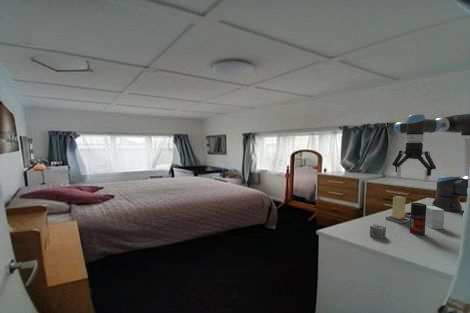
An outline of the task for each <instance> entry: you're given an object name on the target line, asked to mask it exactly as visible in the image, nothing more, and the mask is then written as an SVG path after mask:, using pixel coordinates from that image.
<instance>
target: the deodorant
mask: <svg viewBox="0 0 470 313" xmlns="http://www.w3.org/2000/svg"><path fill="white" fill-rule="evenodd" d="M426 206H428V205H427V204H425V203H421V202H411V203H410V212H411V215H410V218H409V219H410V222H409V233H410V234H412V235H415V236H419V237H420V236H421V237H422V236H425V235H426V225H425V222H426Z"/></svg>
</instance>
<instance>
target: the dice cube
mask: <svg viewBox="0 0 470 313" xmlns="http://www.w3.org/2000/svg"><path fill="white" fill-rule="evenodd" d="M369 228H370V229H369V237H371V238H374V239H375V238H376V239H378V240H383V239H384V238H386V235H387V226H383V225H379V224H376V223H374V224H372V225H370V226H369Z"/></svg>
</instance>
